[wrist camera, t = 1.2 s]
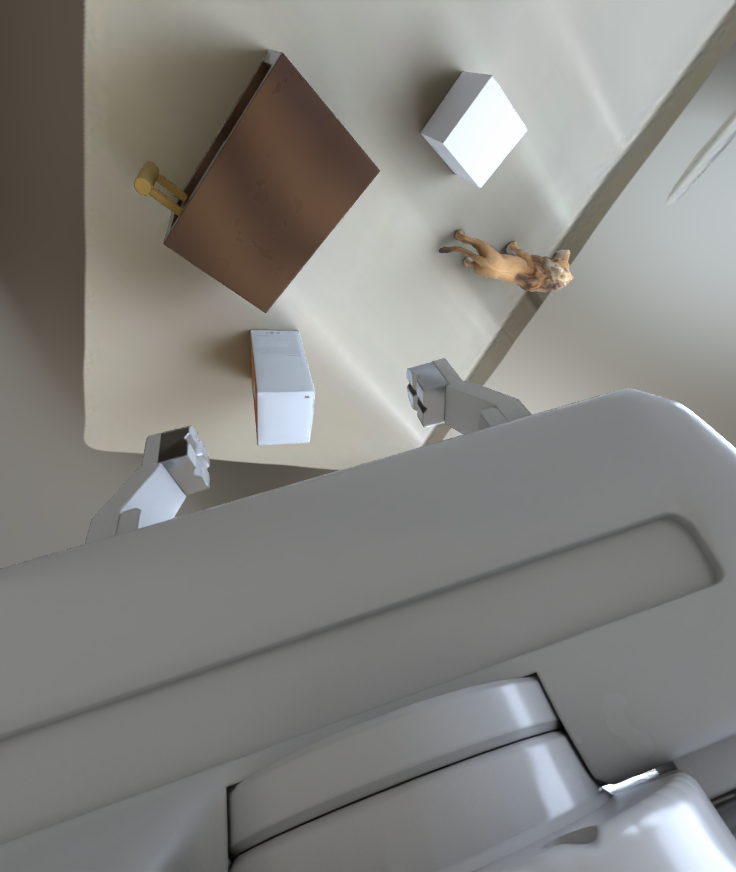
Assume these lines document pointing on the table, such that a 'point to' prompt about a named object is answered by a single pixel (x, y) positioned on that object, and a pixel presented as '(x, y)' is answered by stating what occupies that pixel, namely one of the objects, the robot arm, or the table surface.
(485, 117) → the white cube
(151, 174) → the handled teal slab
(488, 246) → the lion figurine
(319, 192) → the cabinet
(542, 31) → the table surface
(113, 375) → the table surface
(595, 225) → the table surface
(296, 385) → the small box
